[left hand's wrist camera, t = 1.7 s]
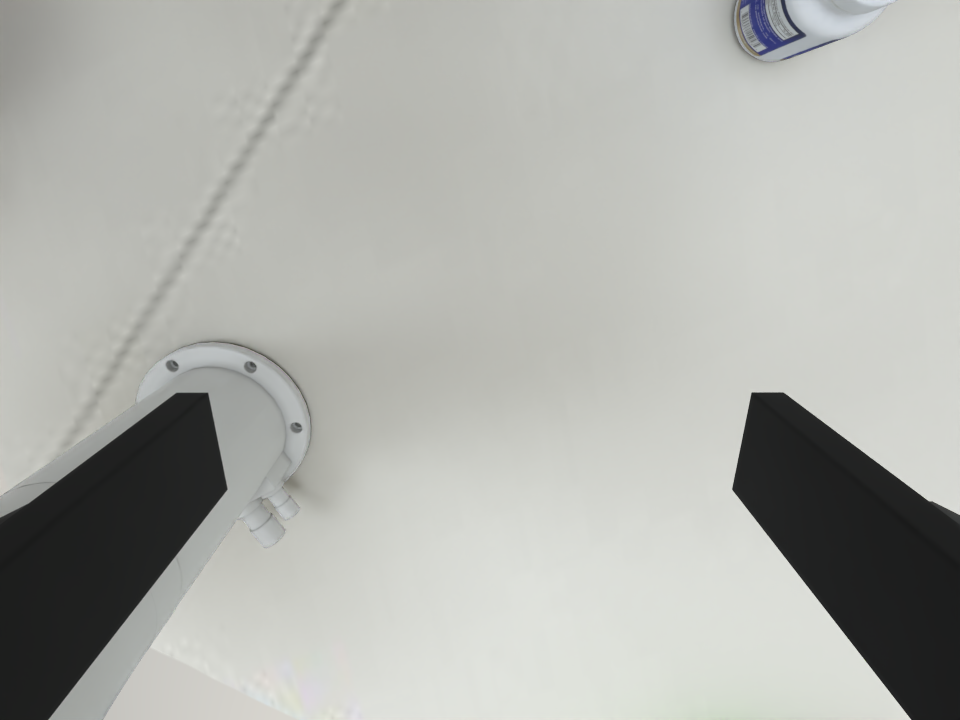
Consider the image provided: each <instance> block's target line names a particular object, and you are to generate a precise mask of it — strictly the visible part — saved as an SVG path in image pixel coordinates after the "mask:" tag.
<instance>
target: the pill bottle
mask: <svg viewBox="0 0 960 720" xmlns="http://www.w3.org/2000/svg"><path fill="white" fill-rule="evenodd" d="M895 1H897V0H737V3H736V7H735V13H734V26H735V31H736V35H737V38H738V40H739V42H740V44H741V46H742V47H743V48H744V49H745V51H746V52H748V53H749V54H750V55H752V56H753V57H755V58H757V59H759V60H762V61H768V62H776V61H782V60H785V59H789V58H792V57H795V56H797V55H800V54H803V53H805V52H808V51H811V50H813V49H816V48H819V47H821V46H824V45H827V44H829V43H832V42H835V41H837V40H840V39H843V38H846V37H848V36H850V35H852V34H854V33H856V32H858V31H860V30H862V29H863V28H865V27H866V26H868V25H869V24H870V23H871V22H873V21H874V20H875V19H876V18H877V17H878V16H879V15H880V14H881V13H882V12H883V11H884V9H885V8H886V7H887V5H889V4H891V3H893V2H895Z"/></svg>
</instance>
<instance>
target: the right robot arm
mask: <svg viewBox="0 0 960 720" xmlns="http://www.w3.org/2000/svg"><path fill="white" fill-rule="evenodd" d="M252 362H253V363H254V364H255V365H256V366H255V365H254V364H253V363H252ZM175 393H208V394H209V399H210V404H211V409H212V414H213V419H214V424H215V429H216V433H217V438H218V443H219V448H220V453H221V458H222V463H223V468H224V473H225V478H226V483H227V488H228V490H227V491H226V492H225V494H224V495H223V496H222V498H221V499H220V500H219V501H218V503H217V504H216V505H215V507H214V508H213V509H212V510H211V512H210V513H209V514H208V515H207V517H206V518H205V519H204V521H203V522H202V523H201V524H200V526H199V527H198V528H197V530H196V531H195V532H194V533H193V535H192V536H191V537H190V539H189V540H188V541H187V542H186V544H185V545H184V546H183V548H182V549H181V550H180V551H179V553H178V554H177V555H176V557H175V558H174V559H173V560H172V562H171V563H170V564H169V566H168V567H167V568H166V569H165V571H164V572H163V573H162V575H161V576H160V577H159V578H158V580H157V581H156V582H155V584H154V585H153V586H152V587H151V589H150V590H149V591H148V593H147V594H146V595H145V596H144V598H143V599H142V600H141V602H140V603H139V604H138V605H137V607H136V608H135V609H134V611H133V612H132V613H131V614H130V616H129V617H128V618H127V620H126V621H125V622H124V623H123V625H122V626H121V627H120V629H119V630H118V631H117V632H116V634H115V635H114V636H113V638H112V639H111V640H110V641H109V643H108V644H107V645H106V647H105V648H104V649H103V650H102V652H101V653H100V654H99V656H98V657H97V658H96V659H95V661H94V662H93V663H92V665H91V666H90V667H89V668H88V670H87V671H86V672H85V674H84V675H83V676H82V677H81V679H80V680H79V681H78V682H77V684H76V685H75V686H74V688H73V689H72V690H71V691H70V693H69V694H68V695H67V697H66V698H65V699H64V700H63V702H62V703H61V704H60V706H59V707H58V708H57V709H56V711H55V712H54V713H53V715H52V716H51V717H50V718H49V720H103V719H104V717H105V716H106V714H107V712H108V710H109V709H110V707H111V706H112V704H113V702H114V701H115V699H116V697H117V696H118V694H119V693H120V691H121V689H122V688H123V686H124V685H125V683H126V681H127V680H128V678H129V677H130V675H131V674H132V672H133V671H134V669H135V668H136V666H137V665H138V663H139V662H140V660H141V659H142V657H143V656H144V654H145V653H146V651H147V650H148V649H149V647H150V646H151V644H152V643H153V641H154V640H155V638H156V637H157V635H158V634H159V632H160V631H161V630H162V628H163V627H164V625H165V624H166V622H167V621H168V619H169V618H170V617H171V615H172V614H173V612H174V611H175V609H176V607H177V605H178V604H179V602H180V601H181V599H182V598H183V597H184V595H185V594H186V592H187V591H188V589H189V588H190V586H191V585H192V584H193V582H194V581H195V579H196V578H197V576H198V575H199V574H200V572H201V571H202V569H203V568H204V566H205V565H206V563H207V562H208V561H209V559H210V558H211V556H212V555H213V553H214V552H215V550H216V549H217V548H218V546H219V545H220V543H221V542H222V540H223V539H224V537H225V536H226V535H227V533H228V532H229V530H230V529H231V527H232V526H233V525H234V523H235V522H236V520H239V519H242V520H243V521H244V522H245V524H246V525H247V526H248V527H249V528H250V532H251V533H252V534H253V535H254V537H255V538H256V539H257V540H258V541H259V542H260V544H261V545H262V546H263V547H264V548H268V547H270V546H272V545H274V544H275V543H277V542H278V541H279V540H280V539H281V538H282V537H283V535H284V534H285V531H286V530H285V529H284V527H283V526H282V525H281V524H280V522H279V521H278V520H277V519H276V518H275V516H274V515H273V514H272V513H270V512H269V511H268V510H267V509H266V508H265V506H264V505H263V504H262V503H261V502H262V501H263V499H266V498H268V499H269V500H270V502H271V503H272V504H273V505H274V506H275V507H274V508H275V509H276V510H277V512H278V513H279V514H280V515H281V516H282V518H283V519H284V520H289V519H290V518H292V517H293V516H295V515H296V514H297V513H298V511H299V510H300V507H299V506H298V504H297V503H296V502H295V501H294V499H293V498H292V497H291V496H290V495H288V493H287V492H286V491H285V490H284V488H283V487H282V486H283V485H284V482H285V481H287V480H288V479H289V478H290V477H291V476H292V474H293V473H294V472H295V471H296V470H297V468H298V467H299V465H300V464H301V462H302V460H303V459H304V456H305V454H306V452H307V449H308V447H309V441H310V435H311V425H310V416H309V413H308V409H307V405H306V403H305V401H304V399H303V397H302V395H301V392H300V390H299V389H298V388H297V386H296V385H295V384H294V382H293V381H292V380H291V378H290V377H289V376H288V375H287V374H286V373H285V372H284V371H283V370H282V369H281V368H280V367H279V366H277V365H276V364H275V363H273V362H272V361H270V360H269V359H267V358H266V357H264V356H263V355H261V354H258V353H256V352H254V351H252V350H250V349H248V348H244V347H241V346H237V345H234V344H229V343H219V342H207V343H196V344H193V345H189V346H186V347H182V348H180V349H178V350H176V351H174V352H172V353H170V354H169V355H167V356H166V357H164V358H163V359H161V360H160V361H158V362H157V363H156V364H155V365H154V366H153V367H152V368H151V369H150V370H149V371H148V372H147V373H146V375H145V377H144V379H143V380H142V382H141V384H140V386H139V390H138V393H137V397H136V404H135V405H134V406H132V407H131V408H129V409H128V410H126V411H125V412H123V413H122V414H121V415H119V416H118V417H116V418H115V419H113V420H112V421H110V422H109V423H107V424H106V425H104V426H103V427H101V428H100V429H99V430H97V431H96V432H94V433H93V434H91V435H90V436H88V437H87V438H85V439H84V440H82V441H81V442H79V443H78V444H76V445H75V446H74V447H72V448H71V449H69V450H68V451H66V452H65V453H63V454H62V455H60V456H59V457H57V458H56V459H54V460H53V461H51V462H50V463H49V464H47V465H46V466H44V467H43V468H41V469H40V470H38V471H37V472H35V473H34V474H32V475H31V476H29V477H28V478H27V479H25V480H24V481H22V482H21V483H19V484H18V485H16V486H15V487H13V488H12V489H10V490H9V491H7V492H6V493H4V494H3V495H2V496H1V497H0V517H2V516H4V515H6V514H8V513H10V512H12V511H14V510H16V509H18V508H20V507H22V506H24V505H26V504H28V503H30V502H31V501H32V500H34V499H35V498H36V497H38V496H39V495H40V494H42V493H43V492H44V491H46V490H47V489H48V488H50V487H51V486H52V485H54V484H55V483H56V482H58V481H59V480H60V479H62V478H63V477H64V476H66V475H67V474H68V473H70V472H71V471H72V470H74V469H75V468H76V467H78V466H79V465H80V464H82V463H83V462H84V461H86V460H87V459H89V458H90V457H91V456H93V455H94V454H95V453H97V452H98V451H99V450H101V449H102V448H103V447H105V446H106V445H107V444H109V443H110V442H111V441H113V440H114V439H115V438H117V437H118V436H119V435H121V434H122V433H123V432H125V431H126V430H127V429H129V428H130V427H131V426H133V425H134V424H135V423H137V422H138V421H139V420H141V419H142V418H143V417H145V416H146V415H147V414H149V413H150V412H151V411H153V410H154V409H155V408H157V407H158V406H159V405H161V404H162V403H163V402H165V401H166V400H167V399H169V398H170V397H171V396H173V395H174V394H175ZM298 423H299V424H300V425H299V424H298Z"/></svg>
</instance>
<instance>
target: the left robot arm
mask: <svg viewBox="0 0 960 720" xmlns="http://www.w3.org/2000/svg"><path fill="white" fill-rule="evenodd" d="M227 490H228V488H227V483H226V478H225V473H224V468H223V463H222V458H221V453H220V448H219V443H218V438H217V433H216V429H215V424H214V419H213V414H212V409H211V404H210V399H209V394H208V393H175V394H174V395H173V396H171V397H170V398H169V399H167V400H166V401H165V402H163V403H162V404H161V405H159V406H158V407H157V408H155V409H154V410H153V411H151V412H150V413H149V414H147V415H146V416H145V417H143V418H142V419H141V420H139V421H138V422H137V423H135V424H134V425H133V426H131V427H130V428H129V429H127V430H126V431H125V432H123V433H122V434H121V435H119V436H118V437H117V438H115V439H114V440H113V441H111V442H110V443H109V444H107V445H106V446H105V447H103V448H102V449H101V450H99V451H98V452H97V453H95V454H94V455H93V456H91V457H90V458H89V459H87V460H86V461H84V462H83V463H82V464H80V465H79V466H78V467H76V468H75V469H74V470H72V471H71V472H70V473H68V474H67V475H66V476H64V477H63V478H62V479H60V480H59V481H58V482H56V483H55V484H54V485H52V486H51V487H50V488H48V489H47V490H46V491H44V492H43V493H42V494H40V495H39V496H38V497H36V498H35V499H34V500H32V501H31V502H30V503H28V504H26V505H24V506H22V507H20V508H18V509H16V510H14V511H12V512H10V513H8V514H6V515H4V516H2V517H0V720H49V718H50V717H51V716H52V715H53V713H54V712H55V711H56V709H57V708H58V707H59V706H60V704H61V703H62V702H63V700H64V699H65V698H66V697H67V695H68V694H69V693H70V691H71V690H72V689H73V688H74V686H75V685H76V684H77V682H78V681H79V680H80V679H81V677H82V676H83V675H84V674H85V672H86V671H87V670H88V668H89V667H90V666H91V665H92V663H93V662H94V661H95V659H96V658H97V657H98V656H99V654H100V653H101V652H102V650H103V649H104V648H105V647H106V645H107V644H108V643H109V641H110V640H111V639H112V638H113V636H114V635H115V634H116V632H117V631H118V630H119V629H120V627H121V626H122V625H123V623H124V622H125V621H126V620H127V618H128V617H129V616H130V614H131V613H132V612H133V611H134V609H135V608H136V607H137V605H138V604H139V603H140V602H141V600H142V599H143V598H144V596H145V595H146V594H147V593H148V591H149V590H150V589H151V587H152V586H153V585H154V584H155V582H156V581H157V580H158V578H159V577H160V576H161V575H162V573H163V572H164V571H165V569H166V568H167V567H168V566H169V564H170V563H171V562H172V560H173V559H174V558H175V557H176V555H177V554H178V553H179V551H180V550H181V549H182V548H183V546H184V545H185V544H186V542H187V541H188V540H189V539H190V537H191V536H192V535H193V533H194V532H195V531H196V530H197V528H198V527H199V526H200V524H201V523H202V522H203V521H204V519H205V518H206V517H207V515H208V514H209V513H210V512H211V510H212V509H213V508H214V507H215V505H216V504H217V503H218V501H219V500H220V499H221V498H222V496H223V495H224V494H225V492H226V491H227ZM732 490H733V491H734V492H735V494H736V495H737V496H738V498H739V499H740V500H741V501H742V503H743V504H744V505H745V507H746V508H747V509H748V510H749V512H750V513H751V514H752V516H753V517H754V518H755V519H756V521H757V522H758V523H759V524H760V526H761V527H762V528H763V530H764V531H765V532H766V533H767V535H768V536H769V537H770V539H771V540H772V541H773V542H774V544H775V545H776V546H777V548H778V549H779V550H780V551H781V553H782V554H783V555H784V557H785V558H786V559H787V560H788V562H789V563H790V564H791V566H792V567H793V568H794V569H795V571H796V572H797V573H798V575H799V576H800V577H801V578H802V580H803V581H804V582H805V584H806V585H807V586H808V587H809V589H810V590H811V591H812V593H813V594H814V595H815V596H816V598H817V599H818V600H819V602H820V603H821V604H822V605H823V607H824V608H825V609H826V611H827V612H828V613H829V614H830V616H831V617H832V618H833V620H834V621H835V622H836V623H837V625H838V626H839V627H840V629H841V630H842V631H843V632H844V634H845V635H846V636H847V638H848V639H849V640H850V641H851V643H852V644H853V645H854V647H855V648H856V649H857V650H858V652H859V653H860V654H861V656H862V657H863V658H864V659H865V661H866V662H867V663H868V665H869V666H870V667H871V668H872V670H873V671H874V672H875V674H876V675H877V676H878V677H879V679H880V680H881V681H882V683H883V684H884V685H885V686H886V688H887V689H888V690H889V691H890V693H891V694H892V695H893V697H894V698H895V699H896V700H897V702H898V703H899V704H900V706H901V707H902V708H903V709H904V711H905V712H906V713H907V715H908V716H909V717H910V718H911V720H960V515H958V514H956V513H954V512H952V511H950V510H948V509H946V508H944V507H942V506H940V505H938V504H936V503H934V502H929V501H928V500H926V499H925V498H924V497H922V496H921V495H920V494H918V493H917V492H916V491H914V490H913V489H912V488H910V487H909V486H908V485H906V484H905V483H904V482H902V481H901V480H900V479H898V478H897V477H896V476H894V475H893V474H892V473H890V472H889V471H888V470H886V469H885V468H884V467H882V466H881V465H880V464H878V463H877V462H876V461H874V460H873V459H871V458H870V457H869V456H867V455H866V454H865V453H863V452H862V451H861V450H859V449H858V448H857V447H855V446H854V445H853V444H851V443H850V442H849V441H847V440H846V439H845V438H843V437H842V436H841V435H839V434H838V433H837V432H835V431H834V430H833V429H831V428H830V427H829V426H827V425H826V424H825V423H823V422H822V421H821V420H819V419H818V418H817V417H815V416H814V415H813V414H811V413H810V412H809V411H807V410H806V409H805V408H803V407H802V406H801V405H799V404H798V403H797V402H795V401H794V400H793V399H791V398H790V397H789V396H787V395H786V394H785V393H752V394H751V399H750V404H749V409H748V414H747V419H746V424H745V428H744V433H743V438H742V443H741V448H740V453H739V458H738V463H737V468H736V473H735V478H734V483H733V488H732Z"/></svg>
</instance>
